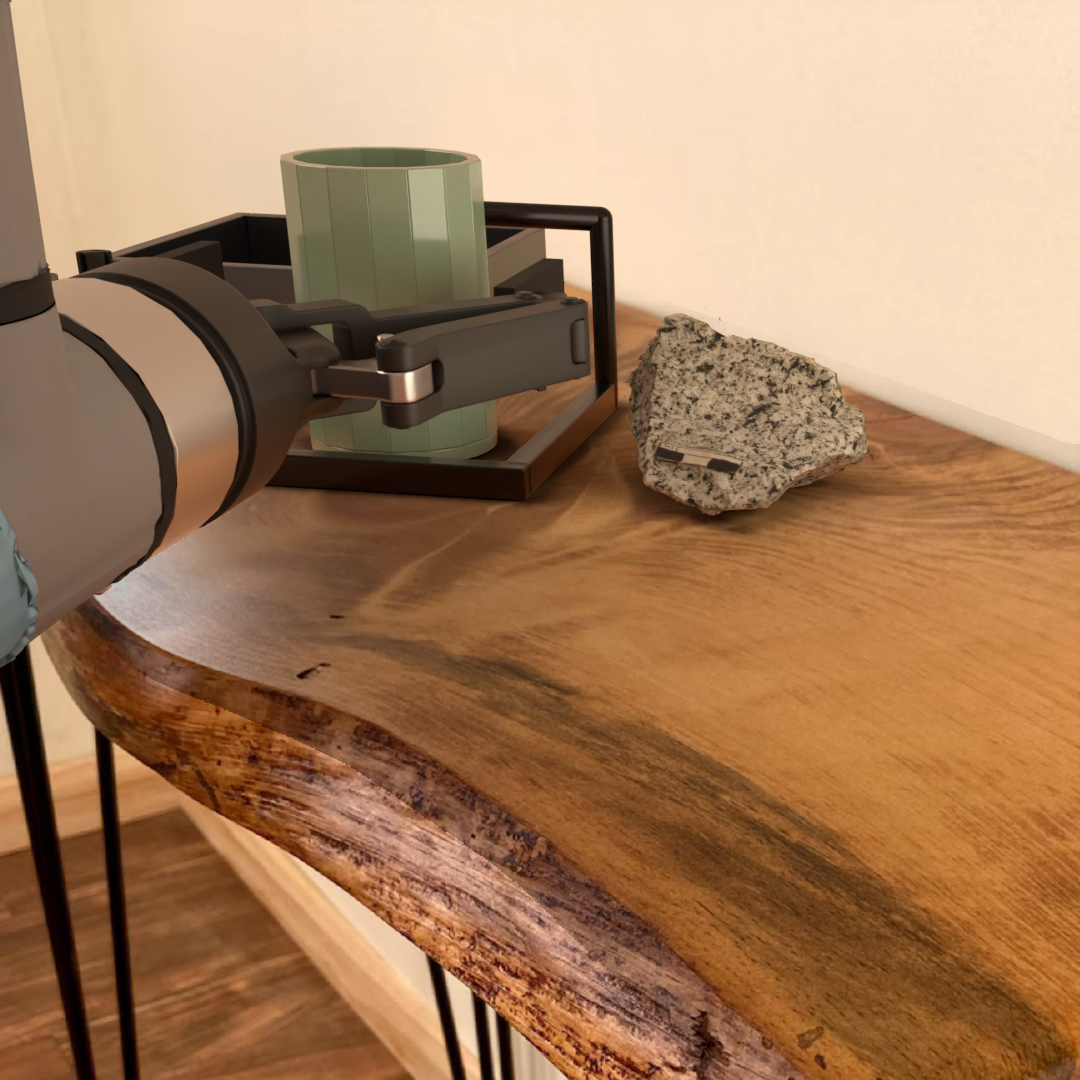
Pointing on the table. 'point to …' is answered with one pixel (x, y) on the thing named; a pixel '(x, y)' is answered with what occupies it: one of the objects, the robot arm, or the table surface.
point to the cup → (390, 266)
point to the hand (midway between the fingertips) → (384, 285)
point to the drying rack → (545, 446)
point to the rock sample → (736, 418)
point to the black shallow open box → (265, 261)
